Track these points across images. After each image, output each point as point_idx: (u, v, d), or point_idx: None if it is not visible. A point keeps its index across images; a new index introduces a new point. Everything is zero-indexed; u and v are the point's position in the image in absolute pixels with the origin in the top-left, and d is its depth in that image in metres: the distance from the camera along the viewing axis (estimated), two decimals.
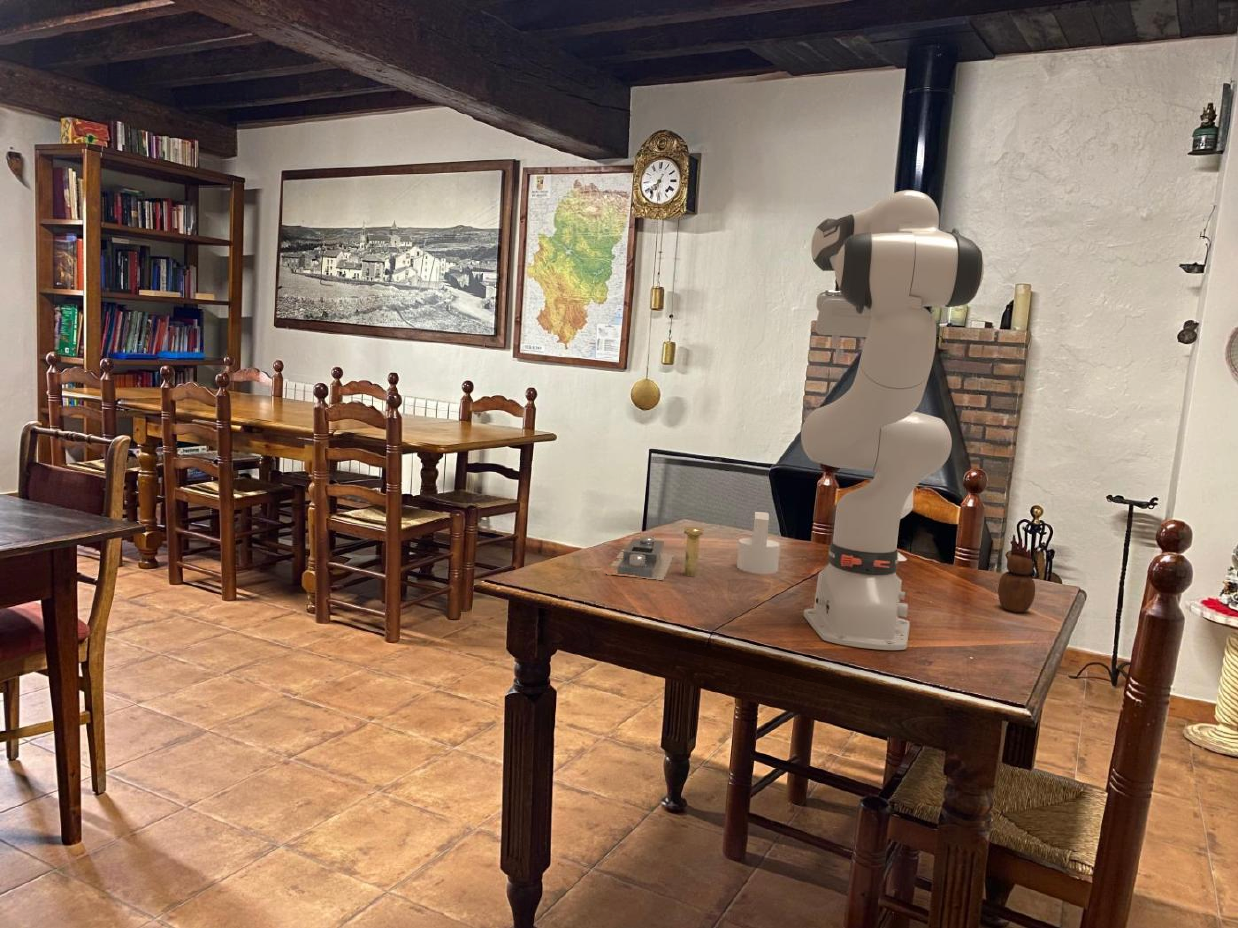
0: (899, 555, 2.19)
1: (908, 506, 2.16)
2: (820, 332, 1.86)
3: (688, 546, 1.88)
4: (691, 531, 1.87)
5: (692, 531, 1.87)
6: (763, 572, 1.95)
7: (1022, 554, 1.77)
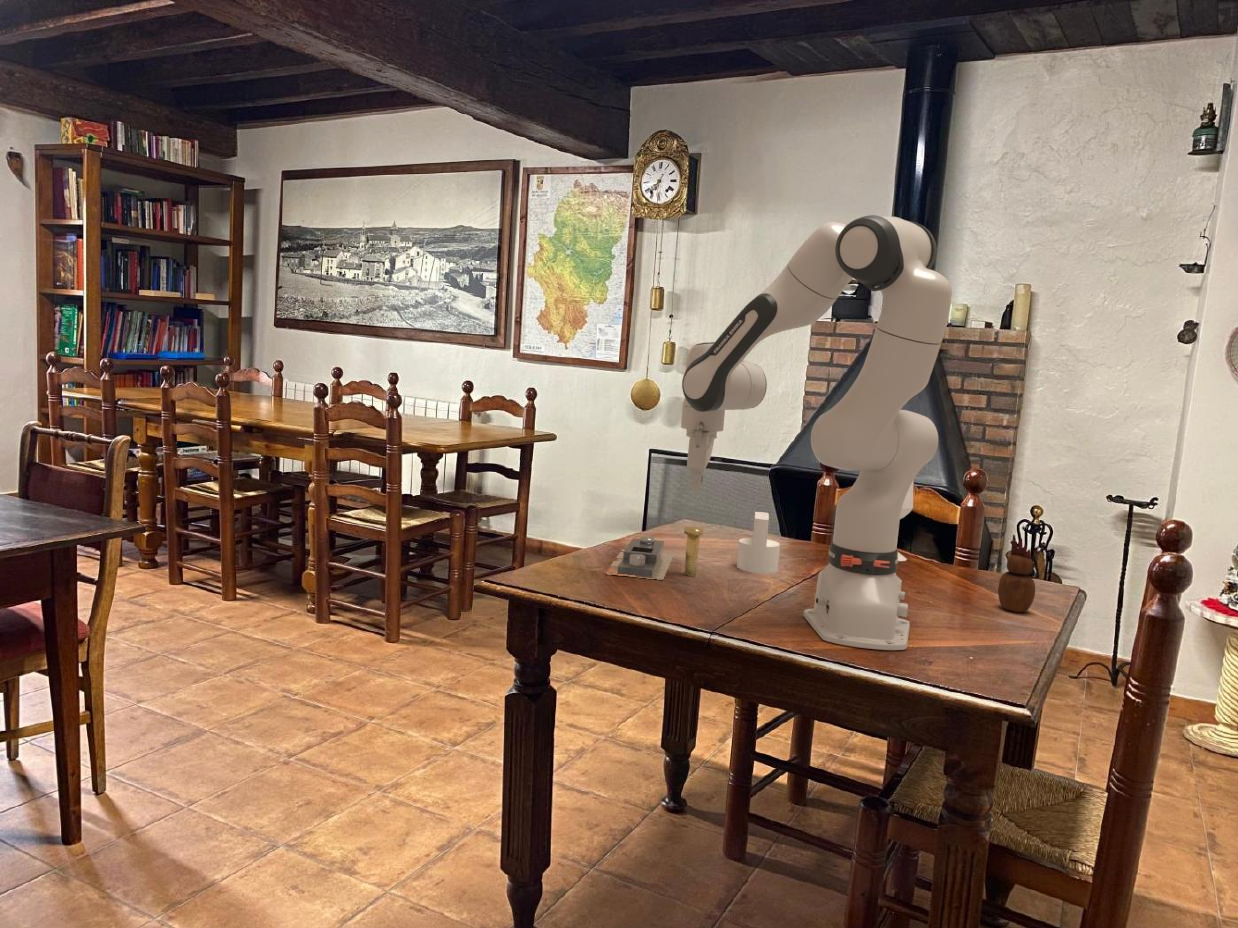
0: (899, 555, 2.19)
1: (908, 506, 2.16)
2: (704, 469, 1.78)
3: (688, 546, 1.88)
4: (691, 531, 1.87)
5: (692, 531, 1.87)
6: (763, 572, 1.95)
7: (1022, 554, 1.77)
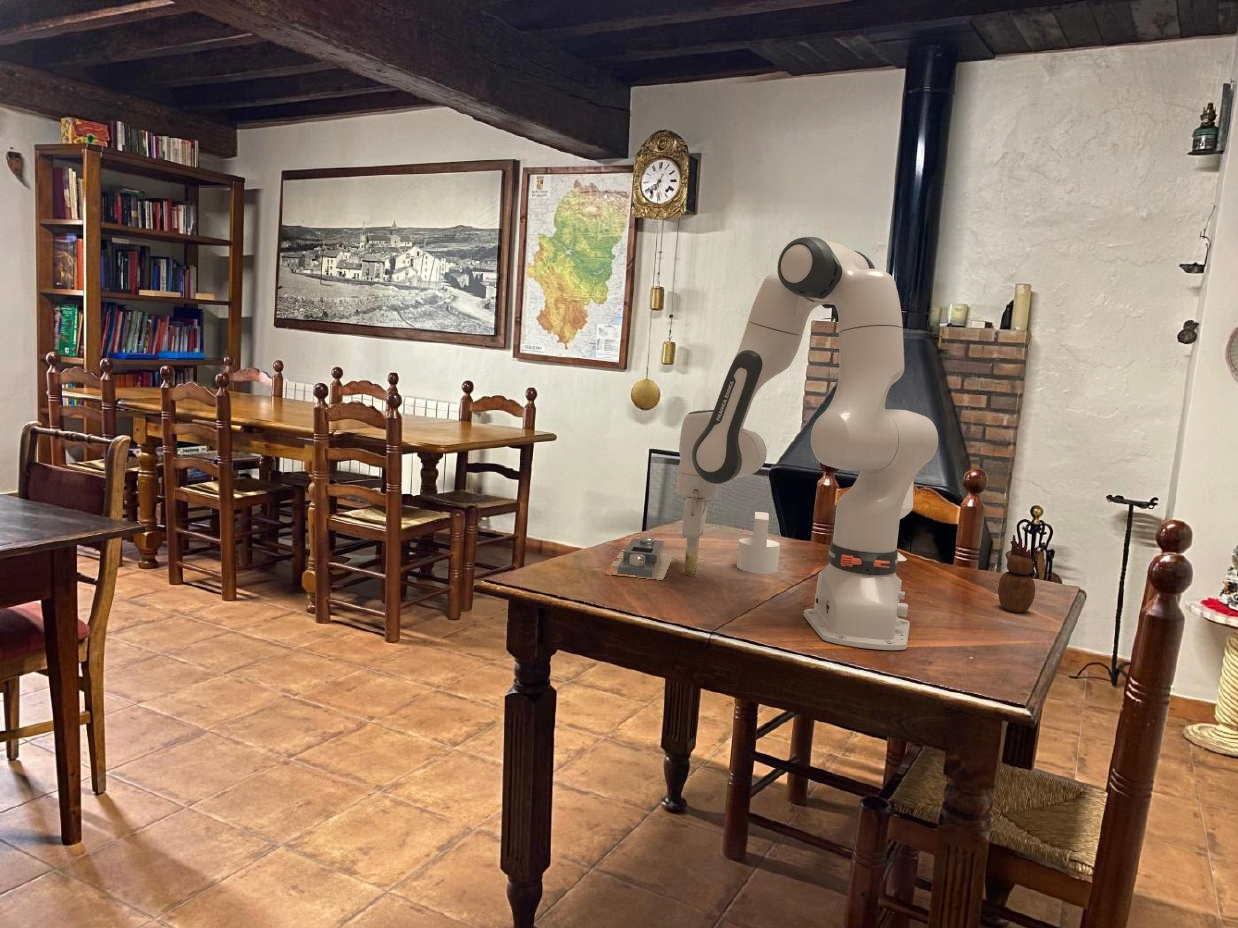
0: (899, 555, 2.19)
1: (908, 506, 2.16)
2: (699, 537, 1.79)
3: None
4: None
5: None
6: (763, 572, 1.95)
7: (1022, 554, 1.77)
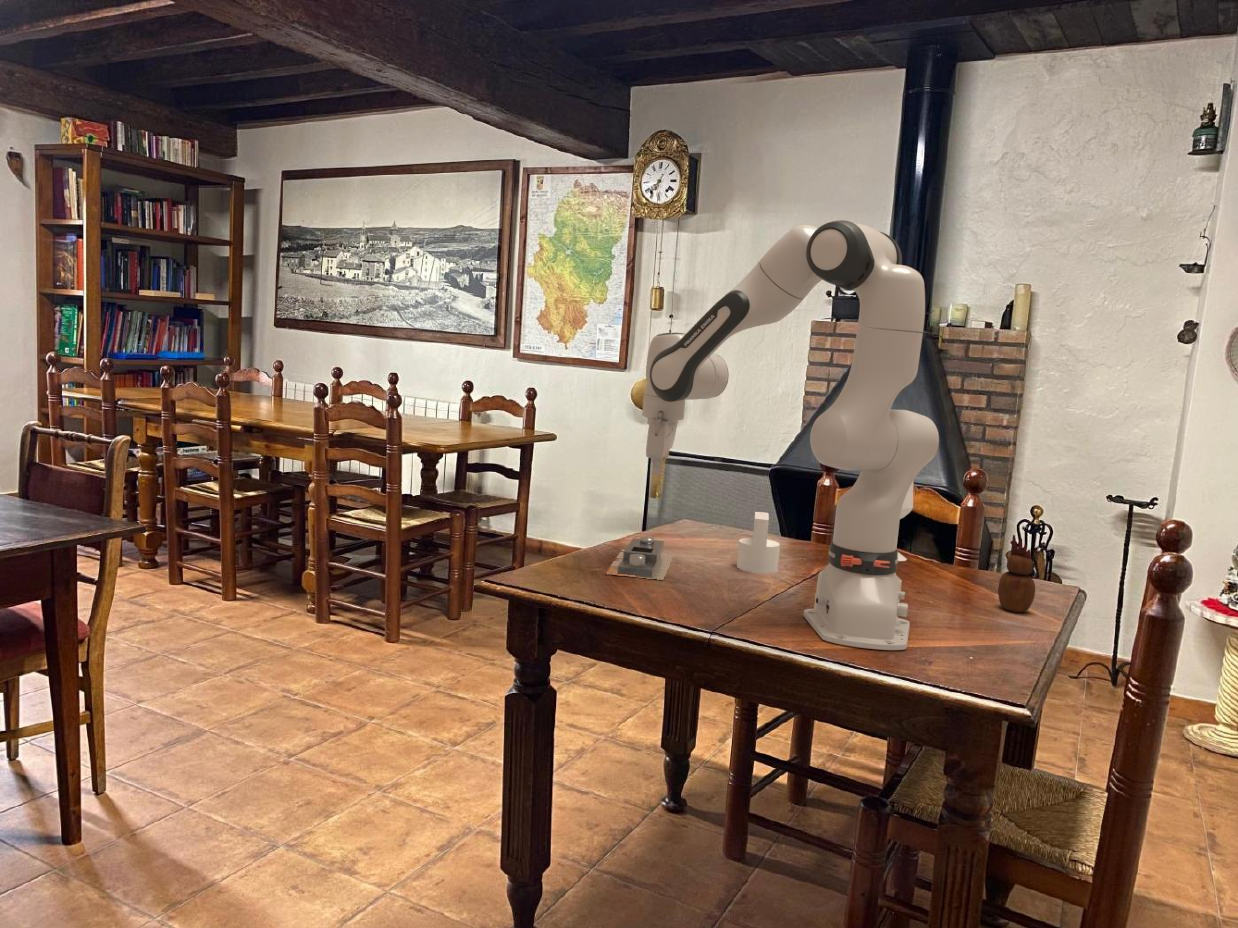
0: (899, 555, 2.19)
1: (908, 506, 2.16)
2: (662, 457, 1.82)
3: None
4: None
5: None
6: (763, 572, 1.95)
7: (1022, 554, 1.77)
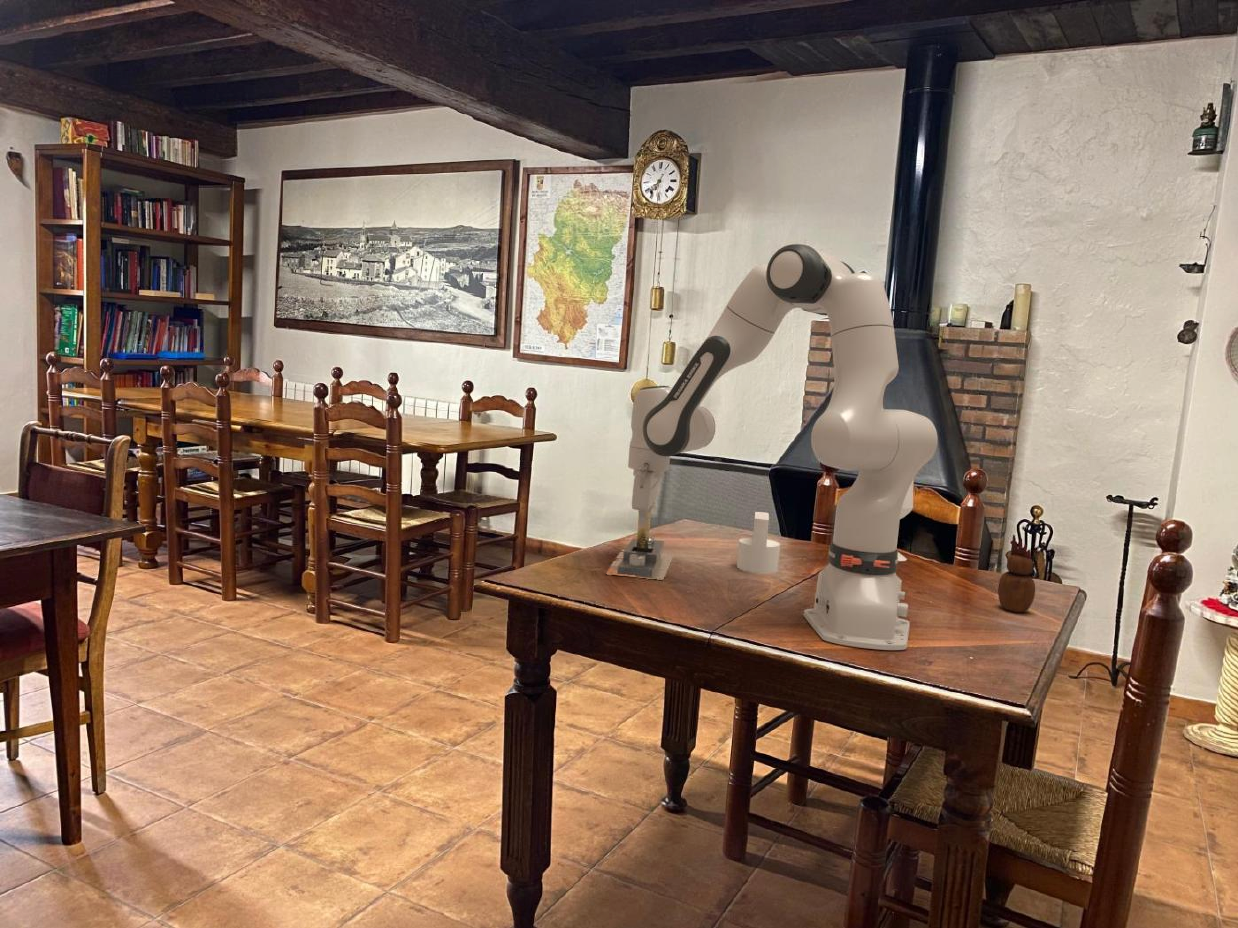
0: (899, 555, 2.19)
1: (908, 506, 2.16)
2: (648, 509, 1.84)
3: None
4: None
5: None
6: (763, 572, 1.95)
7: (1022, 554, 1.77)
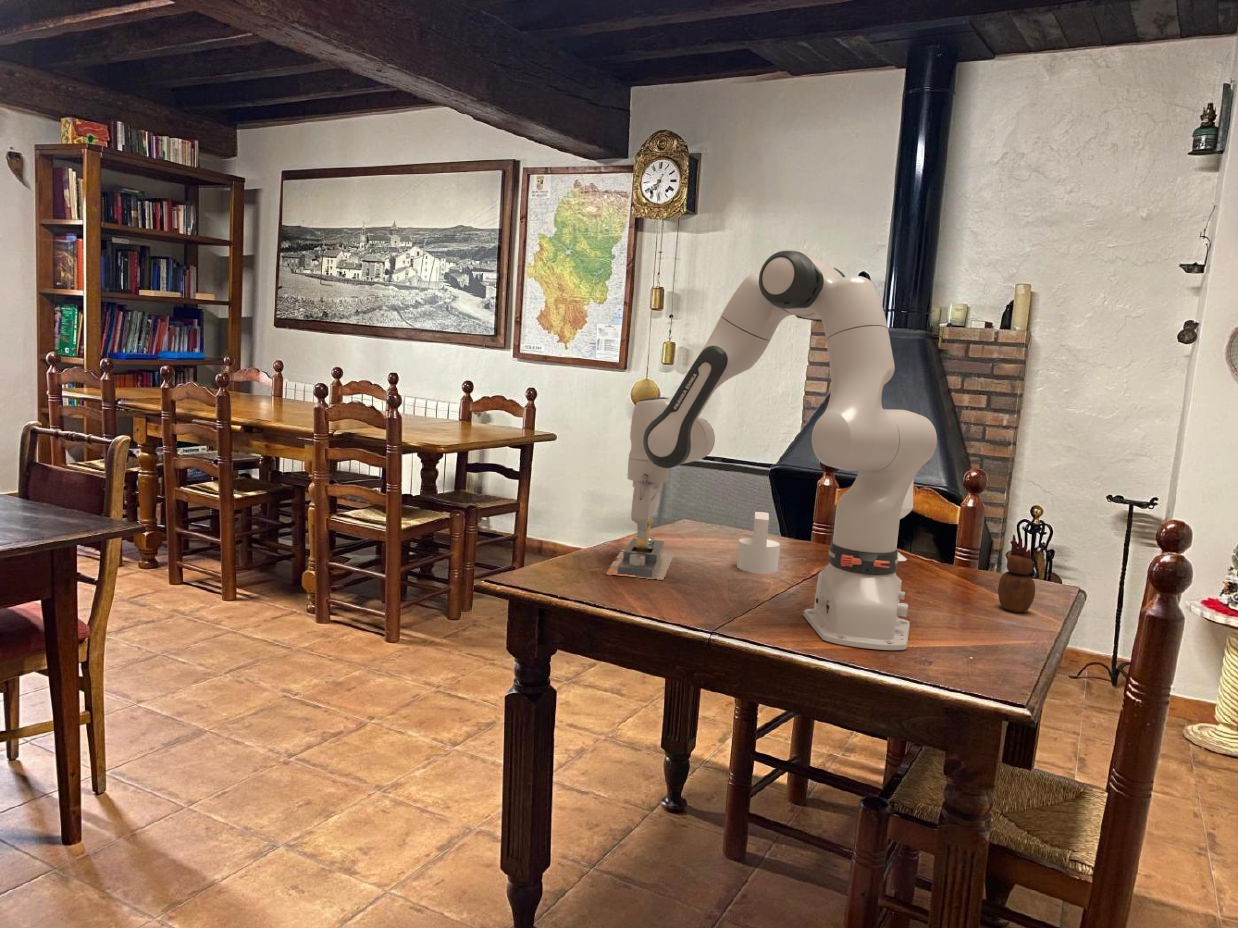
0: (899, 555, 2.19)
1: (908, 506, 2.16)
2: (647, 520, 1.85)
3: None
4: None
5: None
6: (763, 572, 1.95)
7: (1022, 554, 1.77)
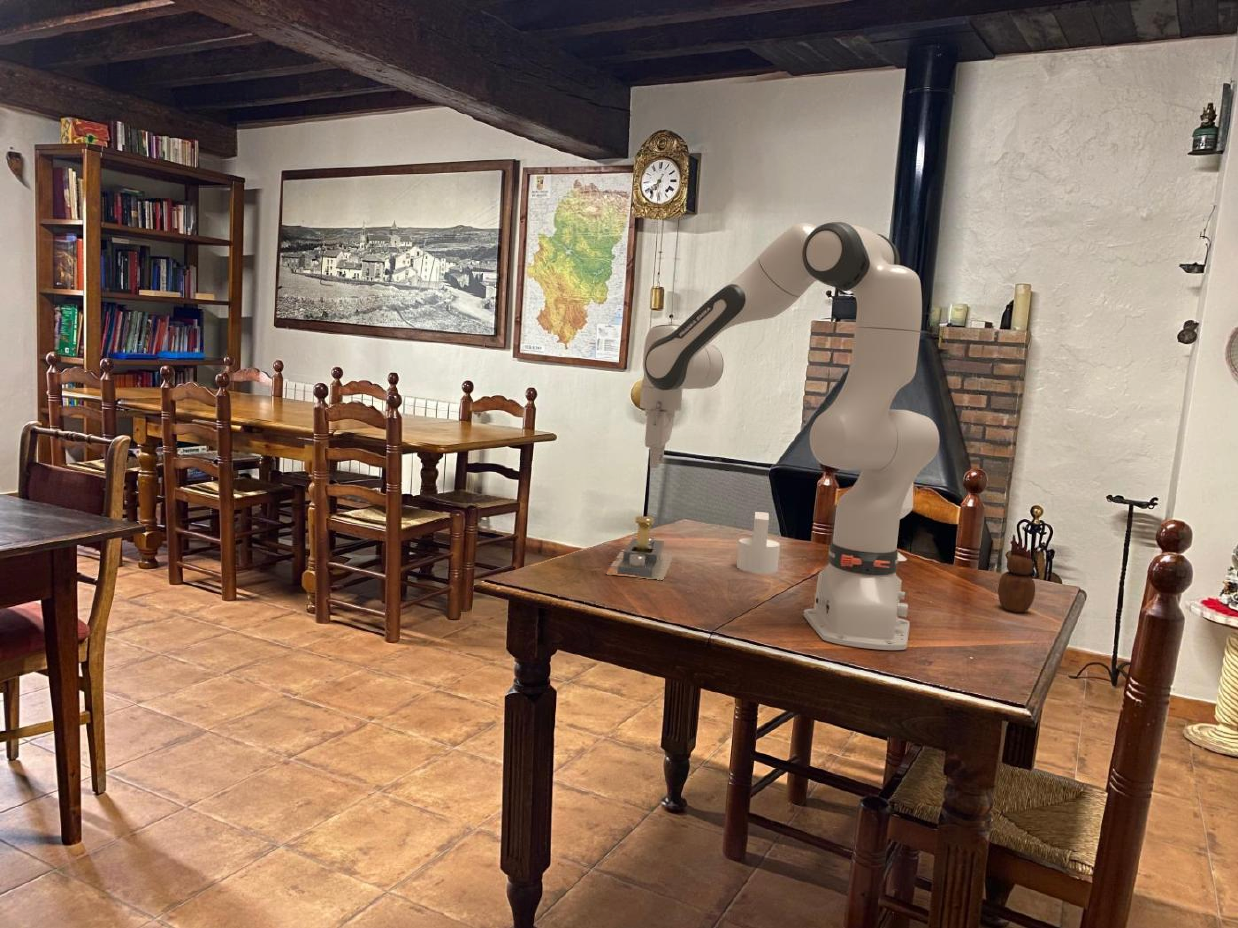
0: (899, 555, 2.19)
1: (908, 506, 2.16)
2: (661, 446, 1.84)
3: (639, 535, 1.94)
4: (642, 520, 1.92)
5: (643, 520, 1.92)
6: (763, 572, 1.95)
7: (1022, 554, 1.77)
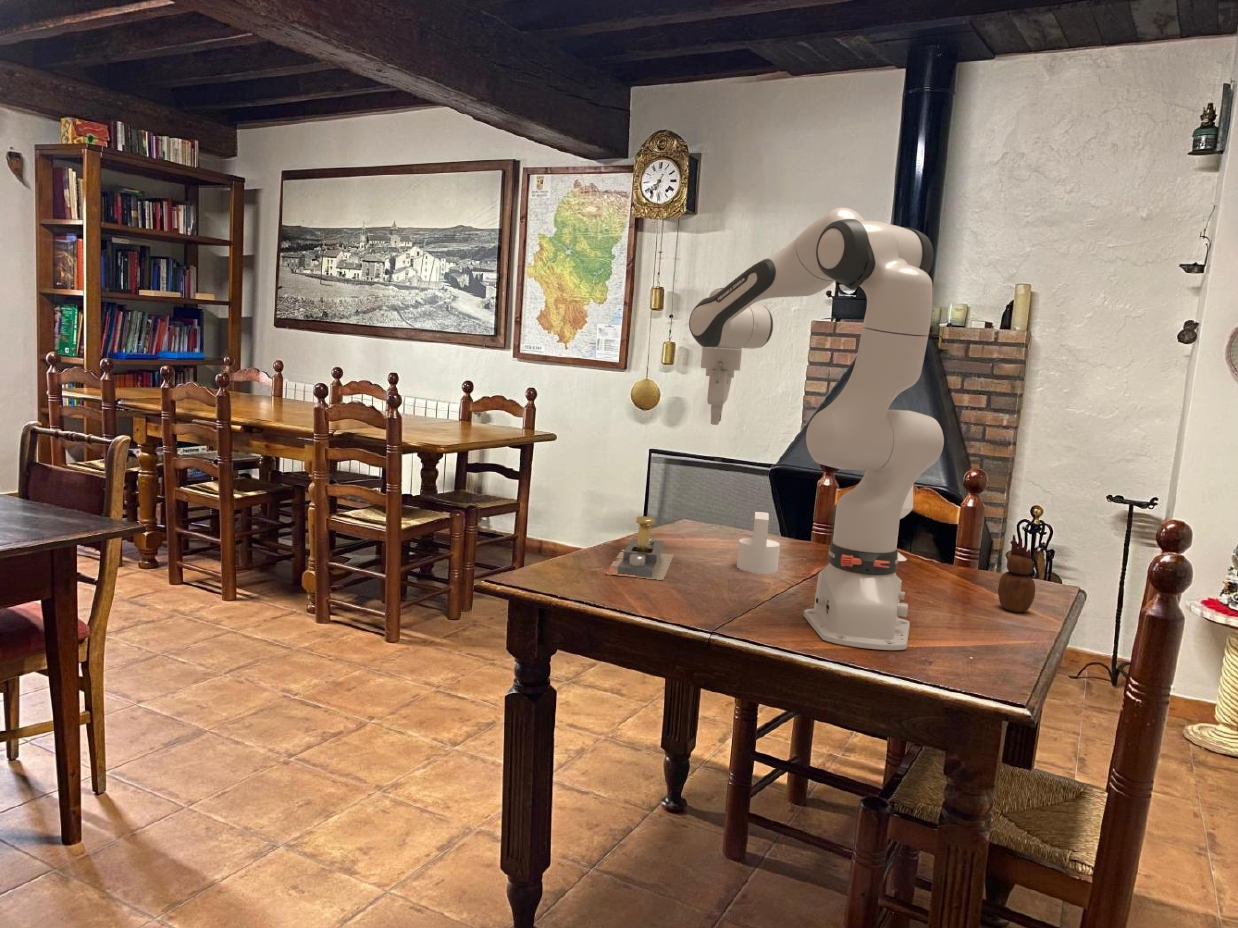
0: (899, 555, 2.19)
1: (908, 506, 2.16)
2: (723, 403, 1.93)
3: (639, 535, 1.94)
4: (642, 521, 1.92)
5: (643, 521, 1.92)
6: (763, 572, 1.95)
7: (1022, 554, 1.78)
